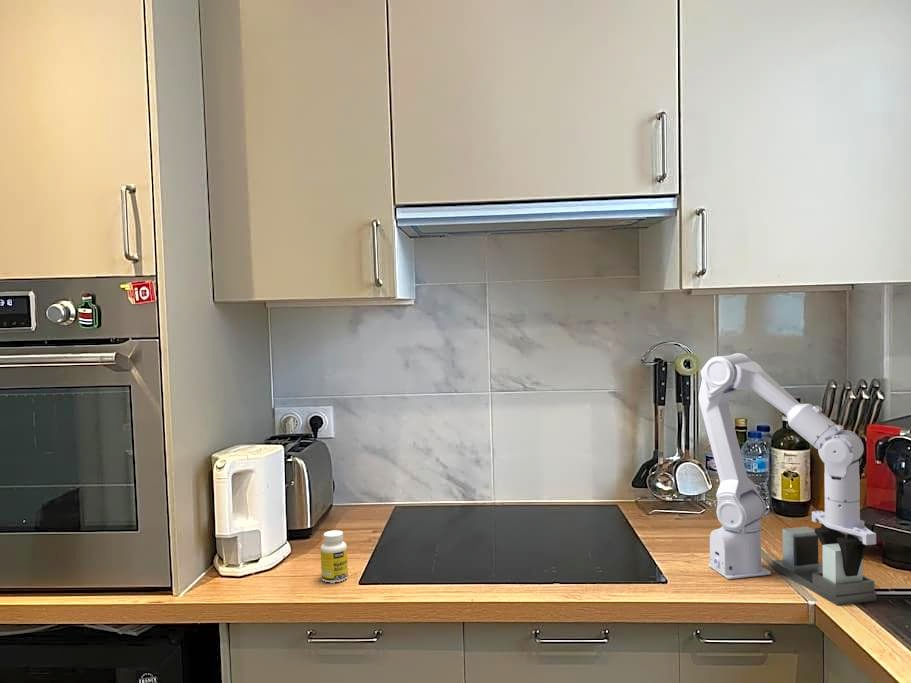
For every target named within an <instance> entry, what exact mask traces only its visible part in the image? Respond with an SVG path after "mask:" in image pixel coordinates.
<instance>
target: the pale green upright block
mask: <svg viewBox="0 0 911 683" xmlns="http://www.w3.org/2000/svg"><path fill="white" fill-rule="evenodd" d="M821 546H822V565H823V577H824V578H826V579H828V580H830V581H832V582H834V583H835V584H840V583H848V582H857V581H863V576H864V574H863V573H864V572H863V571H864V570H863V568H864V567H863V566H864V565H863V559H862V561H861V564H860V568H859V571H858V575H857V576H849V577H848V576H846V575H845V573H844V568H843V557H842V553H841V549H840V546H839V544H838V543H836V544H826V545H822V544H821Z"/></svg>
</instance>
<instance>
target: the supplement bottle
mask: <svg viewBox="0 0 911 683" xmlns="http://www.w3.org/2000/svg"><path fill="white" fill-rule="evenodd" d="M343 540H344V532H343V531H342V530H335V529H334V530H329V531H326V532H324V533H323V541H324V542H323V543H322V544H321V545H320V563H321V564H320V566H321V580H322V582H324V581H325V582H324V583H326V582H330V583H329V584H336V583H335V582H339V583H341V582H340V581H342V582H344V581H346V580H347V579H348V576H349V574H348V573H349V572H348V547H347V543H346V542H345V541H343ZM345 579H346V580H345ZM343 580H344V581H343Z"/></svg>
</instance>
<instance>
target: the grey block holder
mask: <svg viewBox="0 0 911 683" xmlns="http://www.w3.org/2000/svg"><path fill="white" fill-rule="evenodd" d="M781 535H782V537H781V538H782V559H776V560H772V568H773V569H774V570H775V571H777V572H779V573H780V574H782V575H784V576H786V577H787V578H789V579H791V581H792V580H793V581H794V582H796V583H797V584H799V585H800V586H802V587H804V588H807V589H808V590H810V591H811V592H813V593H815V594H817V595H818V596H819V597H821V598H824V599H825V600H826V601H829V602H830V603H832V604H834V605H836V606H842V605H852V604H859V603H867V602H868V603H869V602H877V592H876V591H875V580H873V579H871V578H870V577H867V576H866V575H863V581H857V582H848V583H840V584H835V583H834V582H832V581H830V580H828V579H826V578H824V577H823V563H820V560H819V556H820V555H819V554H820V552H819V538H818V536H817V535H816V533H815V528H811V527H810V526H798V527H789V528H782V533H781Z"/></svg>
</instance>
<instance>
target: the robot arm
mask: <svg viewBox="0 0 911 683" xmlns="http://www.w3.org/2000/svg"><path fill="white" fill-rule="evenodd" d="M700 376H701V383H700V388H699V392H698V402H699V408H700V410H701V411H700V412H701V415H702V419H703V422H704V426H705V430H706V432H707V437H708V440H709V445H710V449H711V452H712V456H713V459H714V464H715V467H716V472H717V474H718V479H719V486H718V488H717V491H716V494H715V496H716V501H717V506H716V517H717V520H718V521H719V523H720V524H721V527H719V528H717V529H713V530H712V531H711V532H710V534H709V562H708V565H707V566H708V567H710V568H711V569H713V570H714V571H716V572H717V573H719V574H720V575H722V577H724V578H726V579H728V580H733V579H741V578H751V577H761V576H766V575H767V576H769V575H772V572H771V571H770V570H768V569H767V568H765V567H763V566H762V533H761V532H762V530H761V527H762V526H761V519H762V518H764V516H765V514H766V512H767V504H766V501H765V500H764V498H763V496H761V494H760V493H759V491H758V488H757V486H756V483H755V482H753V481H752V480H751V479H750V477H748V474H747V469H746V467H745V462H744V459H743V455H742V452H741V451H742V450H741V447H740V443H739V439H738V437H737V433H736V428H735V425H734V422H733V418H732V415H731V411H730V406H729V403H728V402H729V400H730V399H731V398H732V396H733V395H734V394H735V392H736V390H744V391H745V390H746V391H753V392H754V393H756V394H757V395H759V396H760V397H761V398H763V400H765V401H766V402H768V403H769V404H770V405H772V406H773V407H775V409H777V410H778V411H780V412H781V413H782V414H784V415H785V416H786V418H787V423H788V426H789V428H791V429H792V430H793V431H794V432H795V433H797V434H798V435H799V436H800V437H801V438H803V439H804V440H805V441H807V442H808V443H809V445H811V446H812V447H814V448H815V449H816V450H817V451H818V456H819V459H820V460H821V461H822V463H823V464H824V472H823V473H824V475H823V476H824V481H823V482H824V484H823V485H824V511H823V510H813V511H811V522H813V523H819V524H821V526H820V527H815V528H814V530H815V533H816V535H817V536H818V541H820V544H821V546H822V545H826V544H836V543H838V544H839V546H840V549H841V553H842V557H843V568H844V573H845V575H846V576H848V577H849V576H857V575H858V571H859V568H860V564H861V561H862V559H863V558H864V556H865V554H866V552H867V551H868V549H869V548H870V546H873V545H877V533H876V532H874V531H872V530H870V529H869V528H867V527H866V526H865V521H864V520H862V519H861V506H860V505H861V504H860V501H861V495H860V494H861V491H860V490H861V486H860V479H861V478H860V461H859V459H860V458H861V457H862V455H863V454H864V450H865V449H864V448H865V447H864V443H863V441H862V439H861V438H860V437H859V436H858V435H857V433H856V432H854V431H851V430H845V429H844V426H842V425H841V424H836V423H835V422H834V421H832V420H831V419H830V418H829V417H828V416H826V415H825V414H824V413H822V412H823V408H822V407H820V406H819V405H815V406H814V405H812V404H811V403H800V402H799V401H798V400H797V399H796V398H794V397H793V396H792V394H790V393H789V392H788V391H786V389H784V388H783V386H781V385H780V384H779V383H778V382H777V381H776V380H774V378H773V377H772V376H770V375H769V374H768V373H766V372H765V371H764V369H763V367H761V366H760V363H757V362H755V361H754V360H751V358H750V357H749V356H747V355H746V354H744V353H740V352H739V353H733V354H729V355H723V356H714V357H711V358H710V359H709V360H708V361H706V363H705V365H704V366H703V368H702V369H701V370H700ZM846 535H847V537H845V536H846Z"/></svg>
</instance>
